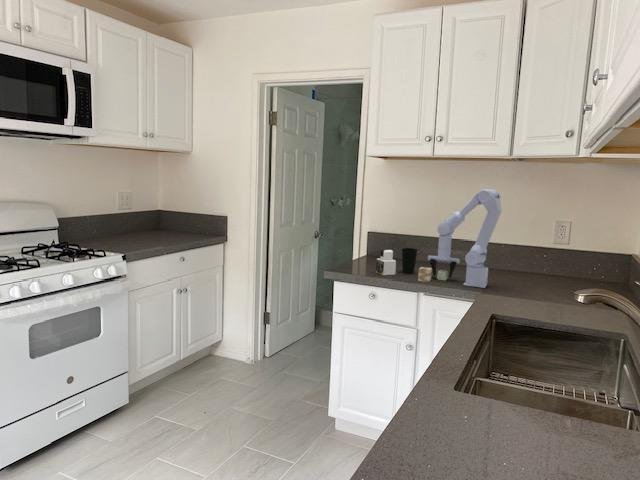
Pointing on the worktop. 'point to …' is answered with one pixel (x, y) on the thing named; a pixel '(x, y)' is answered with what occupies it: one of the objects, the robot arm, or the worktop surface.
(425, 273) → the upper slab
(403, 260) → the cup
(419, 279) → the lower slab
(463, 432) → the worktop surface
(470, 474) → the worktop surface
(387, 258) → the medicine bottle
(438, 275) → the green cube
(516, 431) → the worktop surface
